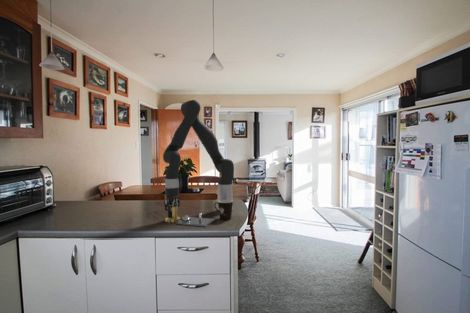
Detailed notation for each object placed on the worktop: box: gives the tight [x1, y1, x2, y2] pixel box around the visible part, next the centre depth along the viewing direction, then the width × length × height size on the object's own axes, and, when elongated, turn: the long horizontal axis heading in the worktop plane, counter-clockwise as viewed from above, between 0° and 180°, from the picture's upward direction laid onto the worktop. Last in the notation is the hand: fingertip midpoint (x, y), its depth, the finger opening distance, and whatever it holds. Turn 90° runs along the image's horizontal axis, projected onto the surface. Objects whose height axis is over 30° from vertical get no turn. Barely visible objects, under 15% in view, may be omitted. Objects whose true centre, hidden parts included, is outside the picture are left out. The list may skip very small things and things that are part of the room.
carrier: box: [176, 212, 216, 227], centre depth 151 cm, size 12×17×5 cm
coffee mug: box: [213, 200, 234, 221], centre depth 160 cm, size 12×9×10 cm
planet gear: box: [164, 206, 181, 223], centre depth 156 cm, size 8×8×8 cm
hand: (172, 216), depth 156 cm, fingers closed on planet gear, 5 cm apart
